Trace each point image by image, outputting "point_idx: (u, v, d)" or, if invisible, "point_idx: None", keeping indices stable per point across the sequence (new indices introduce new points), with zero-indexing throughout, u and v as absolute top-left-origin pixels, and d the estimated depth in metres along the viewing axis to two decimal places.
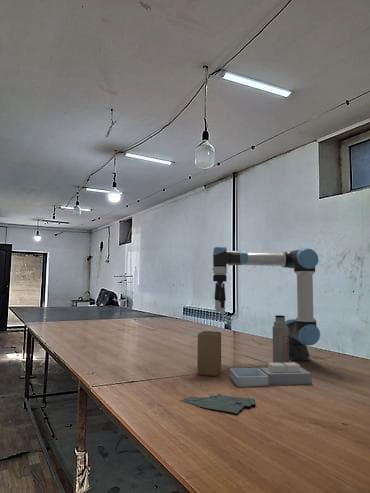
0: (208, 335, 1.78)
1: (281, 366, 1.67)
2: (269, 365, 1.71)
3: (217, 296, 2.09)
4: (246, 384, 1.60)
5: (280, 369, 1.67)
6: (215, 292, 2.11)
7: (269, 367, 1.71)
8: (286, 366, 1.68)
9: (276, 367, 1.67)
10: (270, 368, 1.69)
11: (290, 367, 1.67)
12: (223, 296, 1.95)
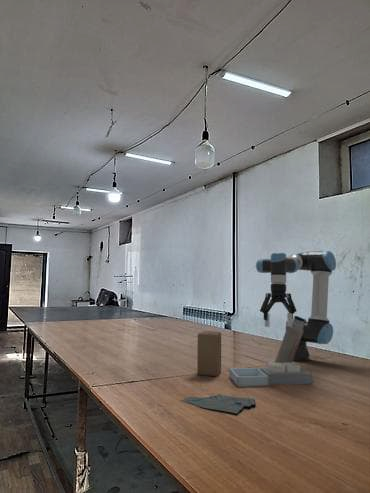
0: (208, 335, 1.78)
1: (281, 366, 1.67)
2: (269, 365, 1.71)
3: (287, 308, 1.85)
4: (246, 384, 1.60)
5: (280, 369, 1.67)
6: (289, 304, 1.86)
7: (269, 367, 1.71)
8: (286, 366, 1.68)
9: (276, 367, 1.67)
10: (270, 368, 1.69)
11: (290, 367, 1.67)
12: (262, 307, 1.79)
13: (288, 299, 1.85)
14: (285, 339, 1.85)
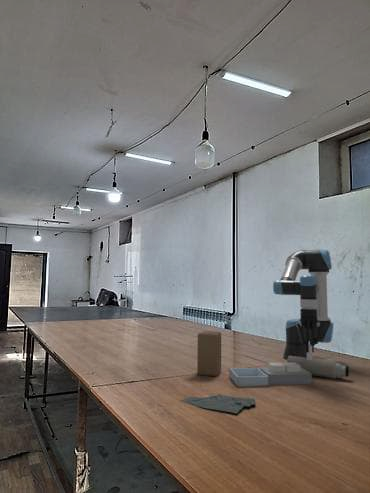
0: (208, 335, 1.78)
1: (281, 366, 1.67)
2: (269, 365, 1.71)
3: (310, 338, 1.73)
4: (246, 384, 1.60)
5: (280, 369, 1.67)
6: (315, 333, 1.74)
7: (269, 367, 1.71)
8: (286, 366, 1.68)
9: (276, 367, 1.67)
10: (270, 368, 1.69)
11: (290, 367, 1.67)
12: (301, 339, 1.72)
13: (317, 328, 1.73)
14: (318, 365, 1.76)
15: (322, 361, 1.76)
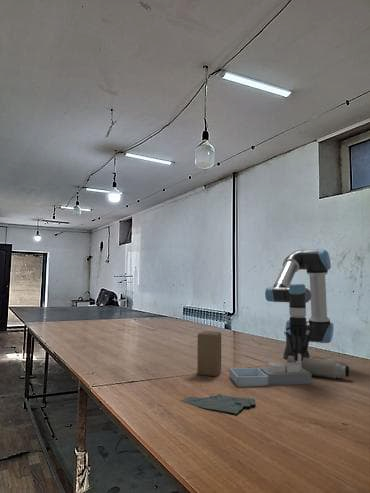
0: (208, 335, 1.78)
1: (281, 366, 1.67)
2: (269, 365, 1.71)
3: (299, 346, 1.72)
4: (246, 384, 1.60)
5: (280, 369, 1.67)
6: (304, 341, 1.73)
7: (269, 367, 1.71)
8: (286, 366, 1.68)
9: (276, 367, 1.67)
10: (270, 368, 1.69)
11: (290, 367, 1.67)
12: (290, 348, 1.71)
13: (306, 336, 1.72)
14: (318, 365, 1.76)
15: (322, 361, 1.76)
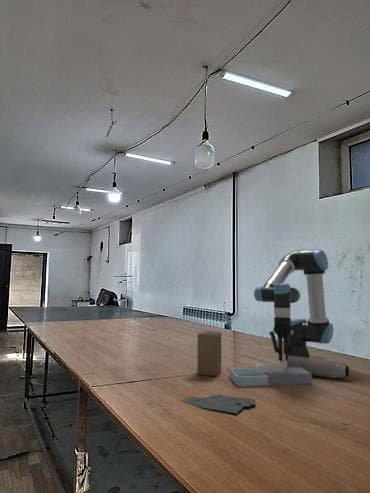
0: (208, 335, 1.78)
1: (267, 366, 1.66)
2: (255, 365, 1.70)
3: (284, 346, 1.71)
4: (246, 384, 1.60)
5: (266, 369, 1.66)
6: (288, 342, 1.72)
7: (255, 367, 1.70)
8: None
9: (262, 367, 1.66)
10: (256, 368, 1.68)
11: (274, 367, 1.66)
12: (274, 348, 1.70)
13: (291, 336, 1.72)
14: (318, 365, 1.76)
15: (322, 361, 1.76)
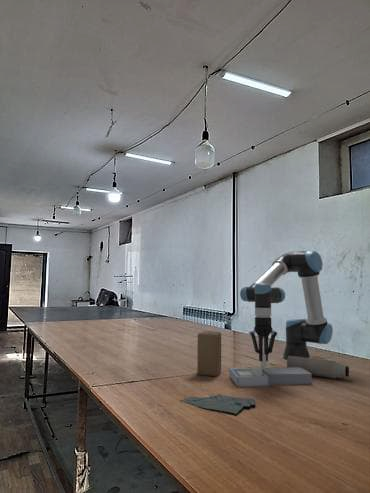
0: (208, 335, 1.78)
1: None
2: None
3: (264, 346, 1.70)
4: (246, 384, 1.60)
5: None
6: (269, 342, 1.72)
7: None
8: None
9: None
10: None
11: None
12: (255, 348, 1.69)
13: (271, 336, 1.71)
14: (318, 365, 1.76)
15: (322, 361, 1.76)
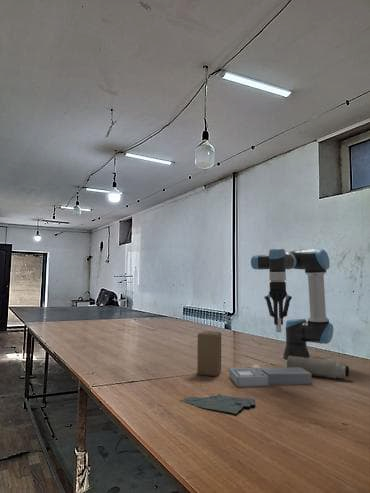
0: (208, 335, 1.78)
1: None
2: None
3: (279, 310, 1.73)
4: (246, 384, 1.60)
5: None
6: (284, 306, 1.74)
7: None
8: None
9: None
10: None
11: None
12: (270, 312, 1.72)
13: (286, 301, 1.73)
14: (318, 365, 1.76)
15: (322, 361, 1.76)
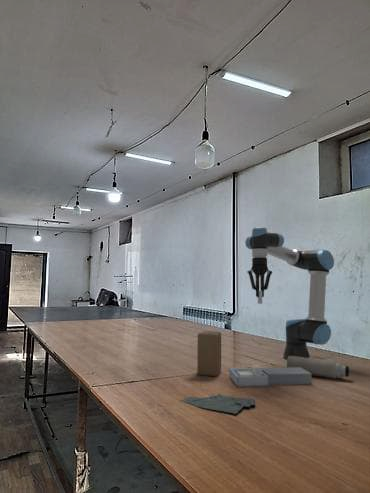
0: (208, 335, 1.78)
1: None
2: None
3: (260, 284, 1.88)
4: (246, 384, 1.60)
5: None
6: None
7: None
8: None
9: None
10: None
11: None
12: (252, 285, 1.87)
13: (267, 275, 1.89)
14: (318, 365, 1.76)
15: (322, 361, 1.76)
